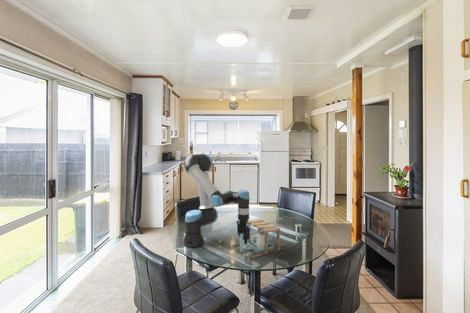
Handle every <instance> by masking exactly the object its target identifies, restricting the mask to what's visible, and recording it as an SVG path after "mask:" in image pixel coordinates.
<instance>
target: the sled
mask: <svg viewBox="0 0 470 313" xmlns="http://www.w3.org/2000/svg"><path fill="white" fill-rule="evenodd" d="M243 239H244V235H243V233H241V234H240V237H239V243H240V245H239V251H240V252H241V253H246V252H249V251H251V250H252V251H254V252H255V253H257V254H260V253H264V249H259V248H257V246H256V245H253V244H252V241H251V240H252V238H251V239H250V238H249V240H247V248H245V249H243ZM253 243H257V237H254V238H253ZM274 249H276V245H274V244H272V243H270V242H269V241H268V249H267V251H271V250H274ZM245 251H246V252H245Z"/></svg>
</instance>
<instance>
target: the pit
mask: <svg viewBox="0 0 470 313" xmlns="http://www.w3.org/2000/svg"><path fill="white" fill-rule="evenodd" d="M268 242H270V243H271V244H273V245H275V246H276V238H270V239H269V238H268ZM284 246H287V244H286V243H284V242H281V241H280V242H279V248H281V247H284Z"/></svg>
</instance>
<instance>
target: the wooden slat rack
mask: <svg viewBox="0 0 470 313" xmlns="http://www.w3.org/2000/svg"><path fill="white" fill-rule="evenodd" d="M248 225H250V226H252V227H254V228H257V232H258V231H264V232H265V240H264V253H260V254H258V253H257V254H254V255H250V256H251V258H250V259H254V258H257V257H261V256H264V255H268V254H271V253H274V252H278V251H282V250H284V246H281V247H279V242H281V241H280V239H281V238H280V236H281V235H280V234H281V227H280V226H277V225H275V224H273V223H271V222H268V221H266V220H264V219H262V218H255V219H249V220H248ZM275 231H276V238H275V239H276V245H275V246H276V249H274V250H271V251H267V249H268V247H269V246H268V242H269V241H268V240H269V233H270V232H275ZM247 240H250V238H249V239H247ZM238 246H239V247H240V242H239V243H235V244H232V247H238Z"/></svg>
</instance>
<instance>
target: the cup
mask: <svg viewBox="0 0 470 313" xmlns="http://www.w3.org/2000/svg"><path fill="white" fill-rule="evenodd" d="M254 238H257V242H254V243H253V239H254ZM251 239H252V240H251V241H252V243H251V244H252V245H253V246H256V248H258V249H264V240H265V232H264V231H262V230H261V231H258V230H257V232H256V234H254V235H252V236H251Z"/></svg>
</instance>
